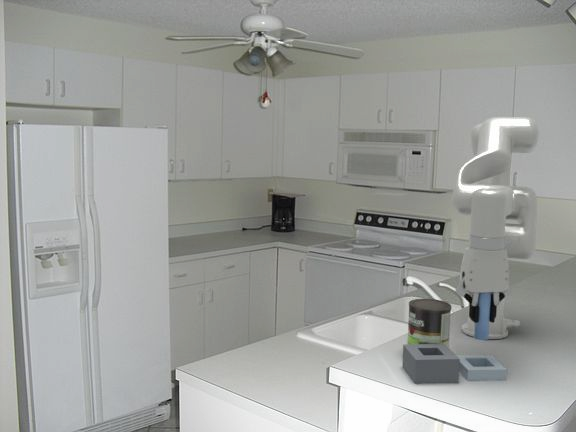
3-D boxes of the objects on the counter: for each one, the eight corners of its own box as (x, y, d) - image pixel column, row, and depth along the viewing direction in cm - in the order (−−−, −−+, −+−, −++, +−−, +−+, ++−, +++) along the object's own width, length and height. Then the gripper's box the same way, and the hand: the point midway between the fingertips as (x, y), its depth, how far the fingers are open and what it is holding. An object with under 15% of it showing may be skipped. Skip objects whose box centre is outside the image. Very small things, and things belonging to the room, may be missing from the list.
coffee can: (421, 368, 144) (423, 311, 142) (398, 354, 153) (400, 300, 151) (457, 363, 147) (460, 307, 145) (433, 349, 157) (435, 297, 155)
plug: (485, 335, 142) (487, 285, 140) (490, 339, 138) (493, 289, 137) (471, 335, 141) (474, 285, 139) (477, 340, 138) (480, 289, 136)
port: (443, 367, 144) (444, 343, 143) (458, 384, 134) (459, 359, 134) (402, 368, 143) (403, 344, 142) (414, 385, 133) (415, 359, 133)
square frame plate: (489, 367, 145) (490, 355, 145) (506, 382, 136) (506, 369, 136) (453, 367, 144) (453, 355, 144) (467, 382, 135) (468, 370, 135)
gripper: (513, 239, 141) (509, 315, 144) (445, 240, 139) (442, 316, 142) (529, 246, 133) (523, 325, 136) (457, 246, 132) (453, 327, 135)
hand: (482, 320), depth 139 cm, fingers closed on plug, 3 cm apart
